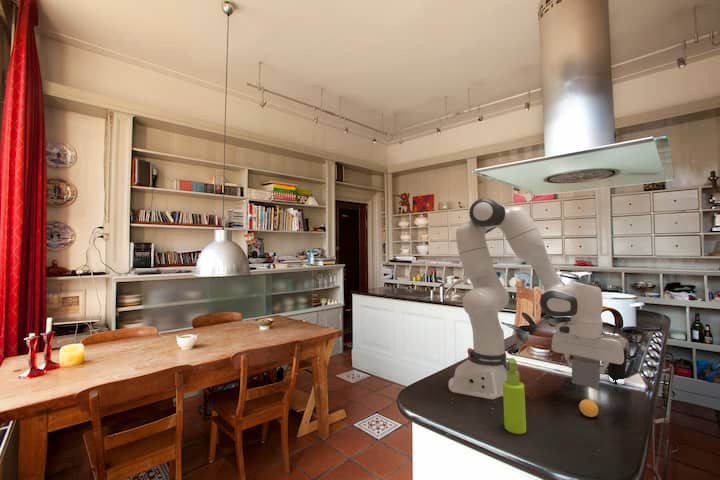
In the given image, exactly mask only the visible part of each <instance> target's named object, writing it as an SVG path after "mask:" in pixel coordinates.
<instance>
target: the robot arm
mask: <svg viewBox="0 0 720 480" xmlns="http://www.w3.org/2000/svg"><path fill="white" fill-rule="evenodd" d="M468 215H469V218H470V219H469V222H467V223H464V224H461V225H459V227H458V228H457V229H456V231H455V237H456V238H455V239H456V247H457V251H458V255H459V258H460V263H461V266H462V270H463V273H464V275H465V276H466V277H467V279H468V280H469V281H470V283H471V284H472V287H473V288H472V289H470V290H469V291H468V292H467V293H466V294H465V295H464V297H463V299H462V307H463V309H464V311H465V312H466V314H467V315H468V318H469V321H470V324H471V330H472V338H473V340H472V343H473V344H472V345H473V348H471V347H468V348H467V351H466V352H467V354H468V355H467V356H468V359H467V360H465V361H464V362H463V363H461V364H459V365H458V366H457V367H456V368H455V372H454V374H453V376H452V377H451V378H450V379H449V380H448V389H449V390H450V392H452V393H456V394H460V395H465V396H466V395H467V396H472V397H477V398H484V399H487V400H495V399H497V398H499V397H500V398H501V397H503V382H504V381H507V365H508V360H507V358H508V357H507V352H506V350H505V349H506V348H505V332H504V329H503V328H502V327H501V323H500V319H499V312H501V311H503V310H504V309H505V308H506V307H507V306H508V303H509V302H510V294H509V292H508V290H507V289H506V288H505V286H504V285H503V283H502V281H501V279H500V277H499V275H498V274H497V271H496V270H495V268H494V264H493V261H492V258H491V253H490V249H489V247H488V244H487V240H486V234H487V233H489V232H491V231H493V230H494V229H496V228H498V229H499V230H501V231H502V233H503V235H504V237H505V239H506V240H507V243H508V245H509V246H510V248H511V250H512V252H513V253H514V254H515V255H516V257H517V258H520V259H521V260H522V261H524V262H526V263H528V265H530V266H531V268H533V270H534V271H535V274H536V276H537V278H538V279H539V281H540V283H541V284H542V287H543V289H544V293H542V295H541V296H540V299H539V306H540V308H541V310H542V311H543V312H544V313H545V314H546V315H548V316H550V317H555V318H561V317H562V318H564V317H565V318H566V317H570V321H564V322H559V323H558V324H556V326H555V331H554V334H553V335H552V340H551V345H550V346H551V350H552V352H554V353H558V354H562V355H564V359H565V360H566V362H567V367H568V368H570V369H572V360H571V358H570V356H573V357H574V356H579V357H584V358H589V359H594V360H599V361H600V362H602V364H603V365H602V367H601V366H600V367H599V374H600V375H605V370H607V366H608V365H609V362H610V363H615V364H622V363H623V362H624V352H623V348H625V347H626V339H625V338H624V337H623V336H622V335H620V334H619V333H616V334H614V333H611V332H607V331H603V319H602V312H603V309H604V308H603V304H604V303H603V292H602V289H601V287H600V286H599V285H598V284H597V283H594V282H592V281H587V280H583V279H582V280H581V279H576V280H573V281H572V282H571V283H568V284H565V283H564V282H563V281H562V280H561V278H560V276H559V275H558V272H557V271H556V269H555V267H554V265H553V264H552V261H551V260H550V257H549V254H548V252H547V249H546V246H545V242H544V240H543V237H542V234H541V233H540V230H539V228H538V227H537V225H536V223H535V222H534V220H533V218H532V217H531V216H530V214H529V213H528V212H527V210H526V209H525V208H523V207H522V206H519V205H518V206H511V207H509V208H505V207H504V206H502V205H501V204H499V203H498V202H496V201H495V200H492V199H490V198H480V199H477V200H476V201H474V202H473V203H472V204H471V205H470V208H469V212H468Z"/></svg>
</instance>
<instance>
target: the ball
mask: <svg viewBox="0 0 720 480" xmlns="http://www.w3.org/2000/svg"><path fill="white" fill-rule="evenodd" d="M578 407H579V408H578V409H579V411H580V412H581V413H582V414H583V415H584V416H586V417H589V418H594V417H596V416H597V415H598V414H599V406H598V405H597V403H596V402H594V401H593V400H591V399H589V398H588V399H585V398H584V399H583V400H581V401H580V402H579V404H578Z"/></svg>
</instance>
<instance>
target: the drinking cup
mask: <svg viewBox="0 0 720 480" xmlns="http://www.w3.org/2000/svg"><path fill="white" fill-rule="evenodd" d="M612 331H613V334H617V332H616V330H615V329H613V330H612ZM628 351H629V348H628V347H627V346H625V348H623V352H624V362H623V363H622V364H615V363H610V362H609V365H608V366H607V368H606V370H607V374H608V375H609V376H610V377H611V378H612V379H613V381H614V380H615V382H614V383H613V385H616V386H619V385H618V384H617V382H616V380H618V379H624V378H625V379H626V374H627V373H626V372H627V357H628V355H627V354H628Z"/></svg>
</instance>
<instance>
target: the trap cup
mask: <svg viewBox="0 0 720 480" xmlns="http://www.w3.org/2000/svg"><path fill="white" fill-rule="evenodd" d="M571 361H572V368H571V384H575V385H580V386H583V387H588V388H592V389H596V390H598V389H599V387H600V383H601V374H599V367H601V361H599V360H594V359H589V358H584V357H579V356H573V357H572V360H571Z"/></svg>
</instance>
